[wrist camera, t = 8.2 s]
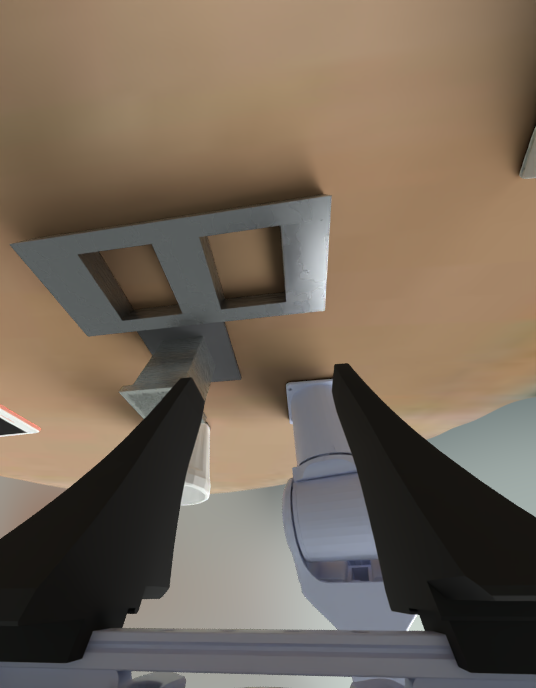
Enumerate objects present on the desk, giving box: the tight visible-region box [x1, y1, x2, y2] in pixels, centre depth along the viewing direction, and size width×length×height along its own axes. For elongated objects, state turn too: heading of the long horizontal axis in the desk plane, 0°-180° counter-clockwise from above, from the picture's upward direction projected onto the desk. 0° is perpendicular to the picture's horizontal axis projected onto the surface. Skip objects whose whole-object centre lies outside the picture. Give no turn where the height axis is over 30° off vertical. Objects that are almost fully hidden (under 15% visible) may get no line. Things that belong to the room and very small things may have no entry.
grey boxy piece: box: [119, 336, 215, 423], centre depth 20 cm, size 5×5×7 cm
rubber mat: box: [137, 322, 241, 382], centre depth 23 cm, size 9×9×1 cm
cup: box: [181, 422, 211, 505], centre depth 29 cm, size 10×10×9 cm
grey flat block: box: [10, 194, 331, 336], centre depth 16 cm, size 8×22×2 cm, turn 97°
